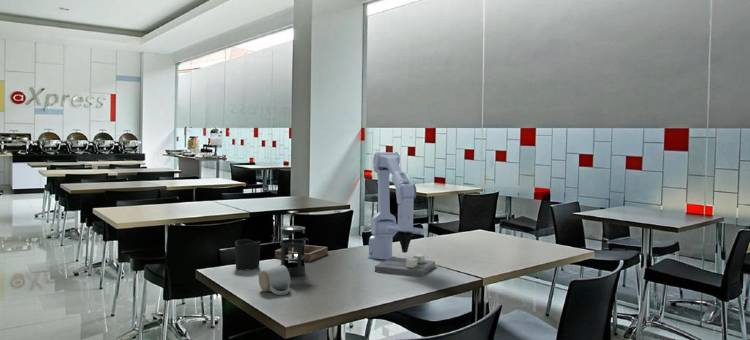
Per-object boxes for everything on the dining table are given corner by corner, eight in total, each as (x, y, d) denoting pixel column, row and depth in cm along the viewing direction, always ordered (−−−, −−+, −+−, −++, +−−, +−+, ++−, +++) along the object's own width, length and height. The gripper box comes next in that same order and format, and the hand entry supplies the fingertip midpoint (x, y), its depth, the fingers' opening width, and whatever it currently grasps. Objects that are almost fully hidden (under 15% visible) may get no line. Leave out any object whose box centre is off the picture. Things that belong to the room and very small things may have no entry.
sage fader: (413, 262, 213) (413, 256, 212) (417, 260, 217) (417, 253, 217) (420, 263, 211) (421, 256, 211) (424, 261, 216) (424, 254, 215)
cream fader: (405, 266, 205) (405, 260, 205) (409, 264, 210) (409, 257, 209) (413, 267, 204) (413, 261, 204) (417, 265, 208) (417, 258, 208)
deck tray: (275, 257, 228) (275, 250, 228) (295, 250, 243) (295, 243, 243) (309, 261, 222) (309, 254, 222) (327, 254, 237) (327, 247, 237)
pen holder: (258, 264, 217) (258, 238, 216) (261, 269, 208) (261, 243, 207) (233, 265, 214) (233, 239, 213) (235, 271, 205) (235, 244, 204)
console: (374, 271, 207) (374, 266, 207) (391, 261, 224) (391, 256, 224) (421, 276, 200) (421, 271, 200) (435, 266, 217) (435, 261, 217)
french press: (311, 274, 201) (312, 211, 200) (289, 278, 195) (290, 213, 193) (293, 268, 210) (294, 208, 208) (272, 272, 204) (272, 210, 202)
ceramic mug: (257, 289, 180) (257, 266, 180) (279, 285, 186) (279, 263, 185) (272, 297, 172) (273, 273, 172) (295, 293, 177) (296, 269, 177)
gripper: (383, 216, 206) (382, 252, 207) (420, 218, 200) (420, 256, 201) (390, 213, 212) (389, 248, 213) (426, 216, 207) (425, 252, 208)
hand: (404, 252), depth 208 cm, fingers closed
